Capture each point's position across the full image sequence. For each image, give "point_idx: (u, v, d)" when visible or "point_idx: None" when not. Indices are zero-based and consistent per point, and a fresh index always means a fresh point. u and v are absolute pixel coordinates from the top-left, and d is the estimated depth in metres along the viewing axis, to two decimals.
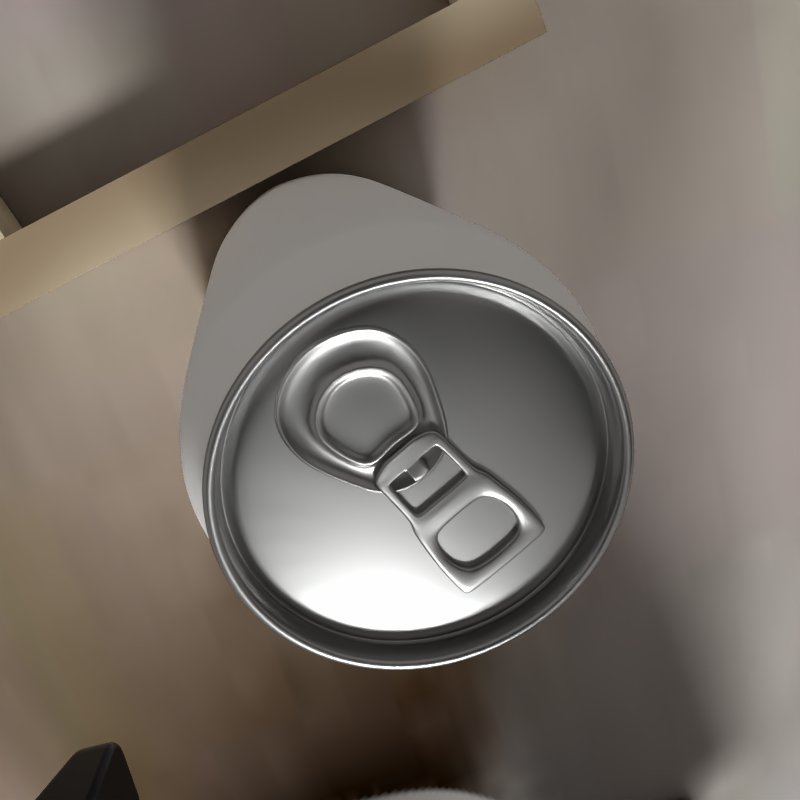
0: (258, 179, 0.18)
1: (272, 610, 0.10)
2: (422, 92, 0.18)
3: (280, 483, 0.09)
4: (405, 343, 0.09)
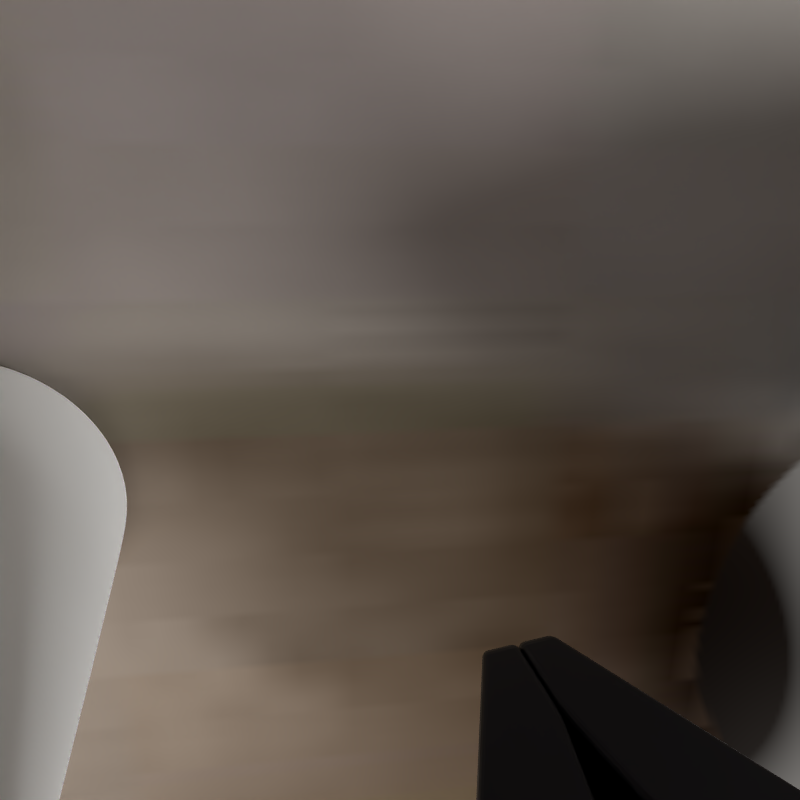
0: None
1: None
2: None
3: None
4: None
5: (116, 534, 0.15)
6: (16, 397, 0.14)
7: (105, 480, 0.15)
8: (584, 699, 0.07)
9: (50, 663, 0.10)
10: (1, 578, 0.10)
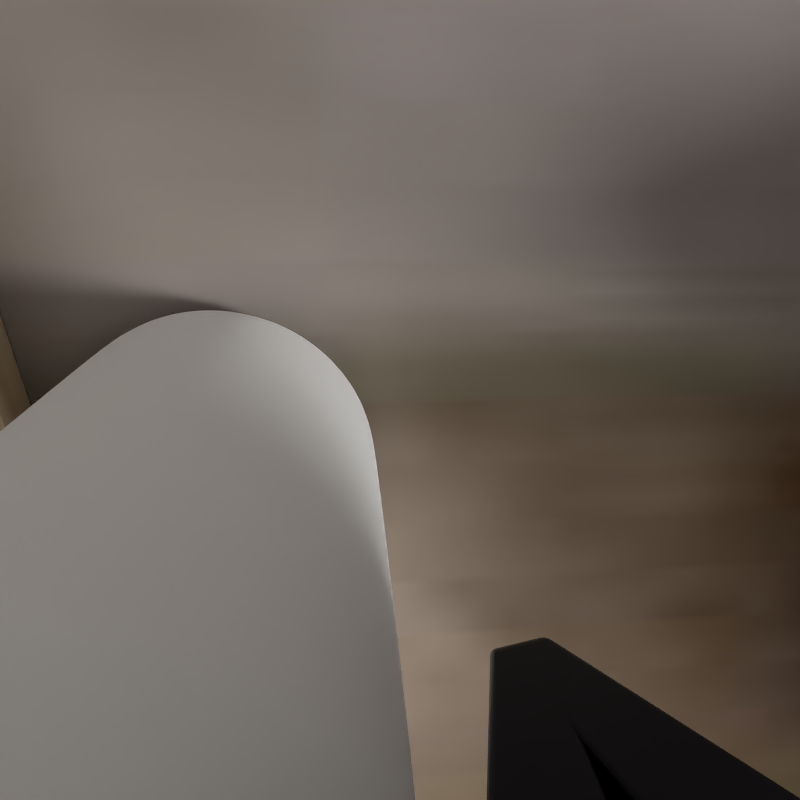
0: None
1: None
2: None
3: None
4: None
5: None
6: (300, 351, 0.14)
7: (371, 445, 0.14)
8: (577, 701, 0.07)
9: (390, 601, 0.09)
10: (349, 506, 0.09)
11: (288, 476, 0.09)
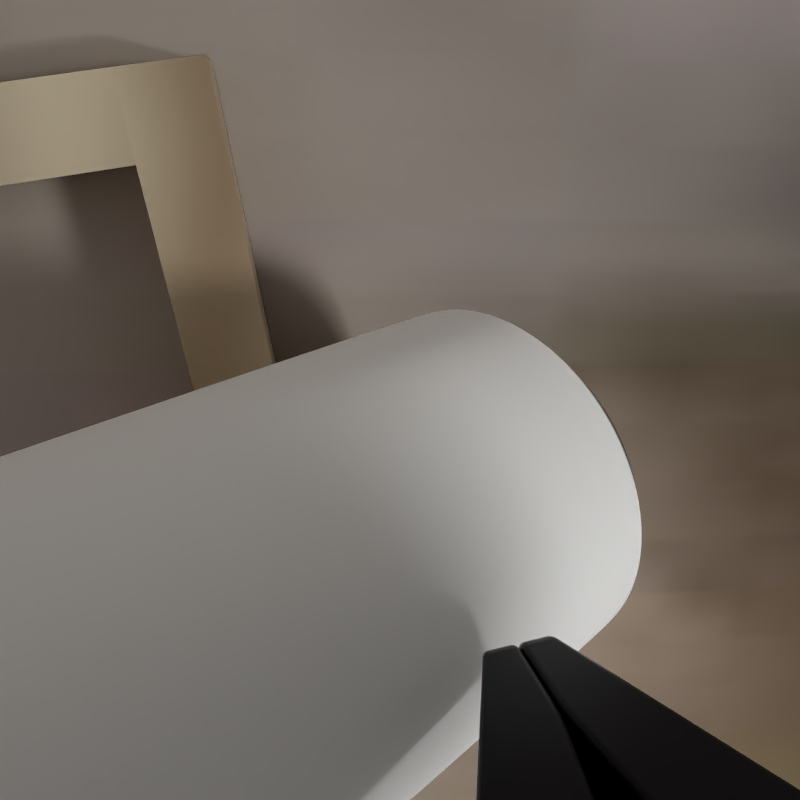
0: None
1: None
2: (244, 258, 0.13)
3: None
4: None
5: (571, 640, 0.11)
6: (547, 420, 0.10)
7: (594, 572, 0.11)
8: (584, 699, 0.07)
9: None
10: (310, 678, 0.08)
11: (209, 619, 0.07)
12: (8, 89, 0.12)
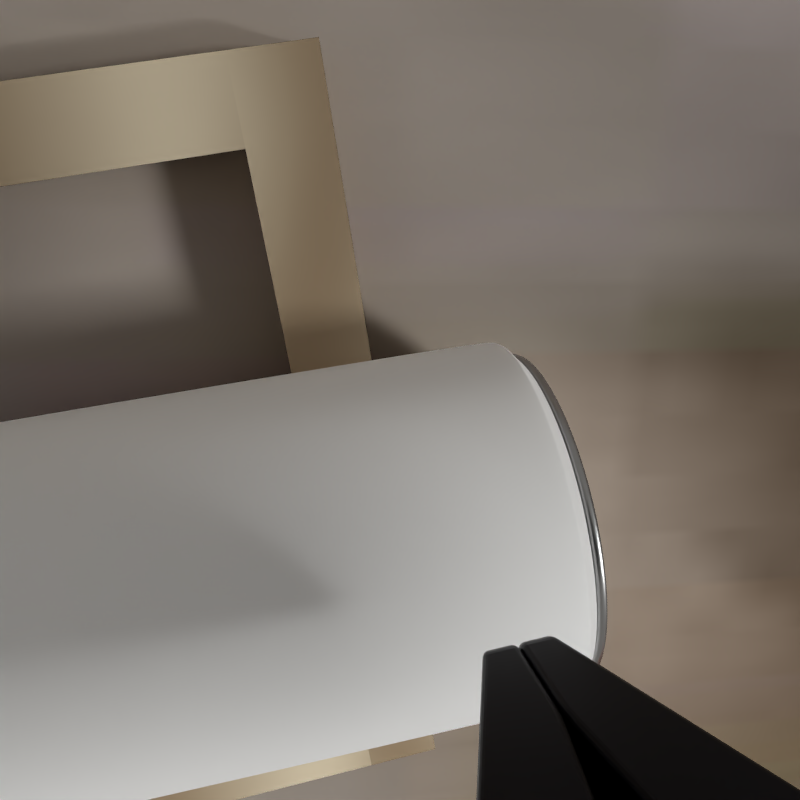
0: None
1: None
2: (347, 243, 0.13)
3: None
4: None
5: (476, 715, 0.11)
6: (496, 531, 0.10)
7: None
8: (584, 699, 0.07)
9: (146, 761, 0.10)
10: (160, 686, 0.10)
11: (92, 623, 0.10)
12: (124, 72, 0.12)
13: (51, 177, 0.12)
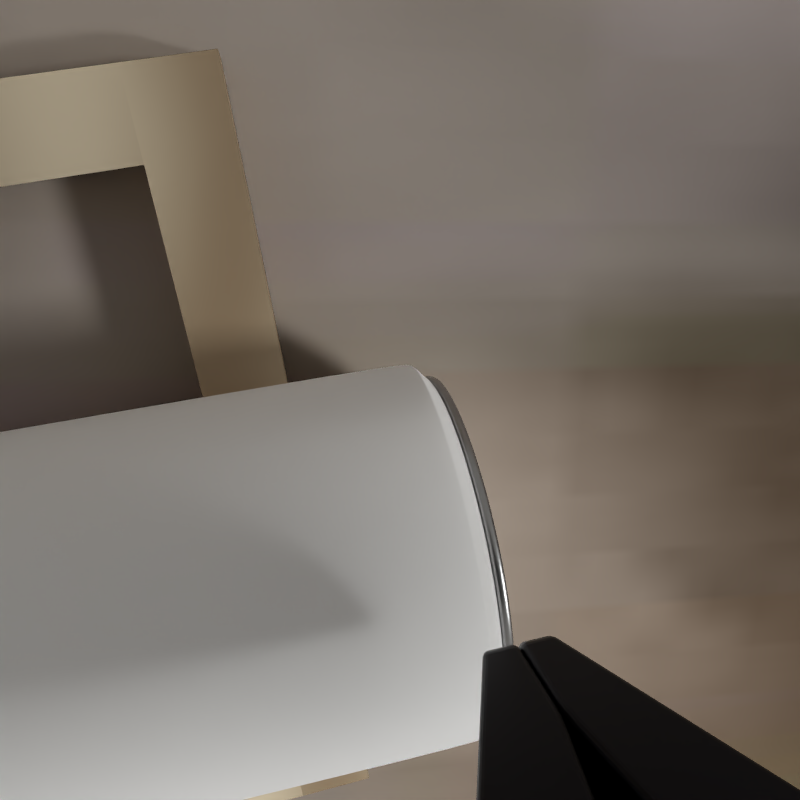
0: None
1: None
2: (256, 262, 0.13)
3: None
4: None
5: (380, 758, 0.11)
6: (391, 569, 0.10)
7: (404, 720, 0.10)
8: (584, 699, 0.07)
9: None
10: (30, 738, 0.09)
11: None
12: (10, 85, 0.11)
13: None
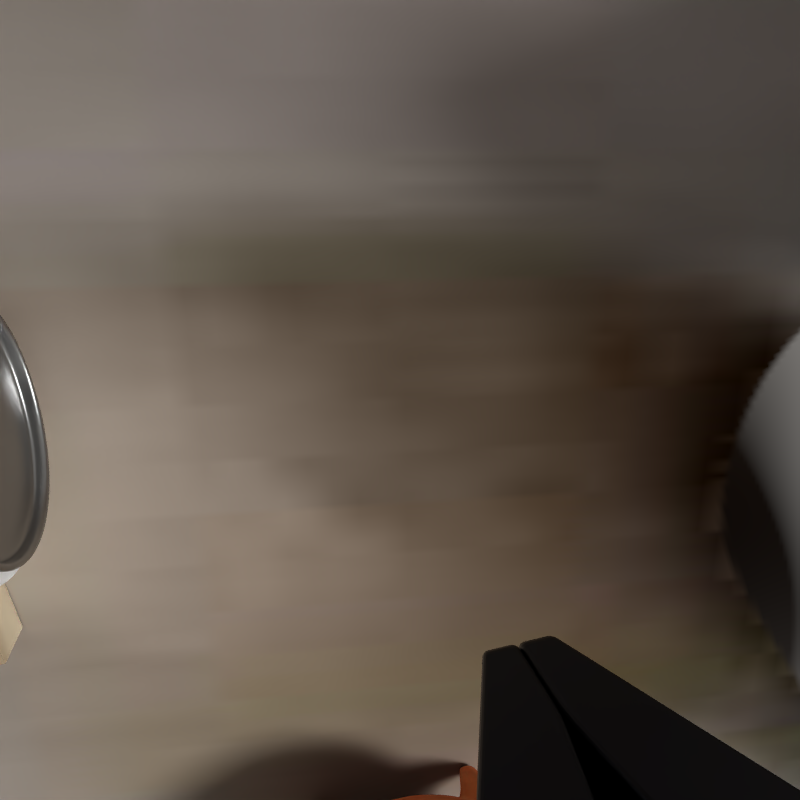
0: None
1: None
2: None
3: None
4: None
5: None
6: None
7: None
8: (584, 699, 0.07)
9: None
10: None
11: None
12: None
13: None
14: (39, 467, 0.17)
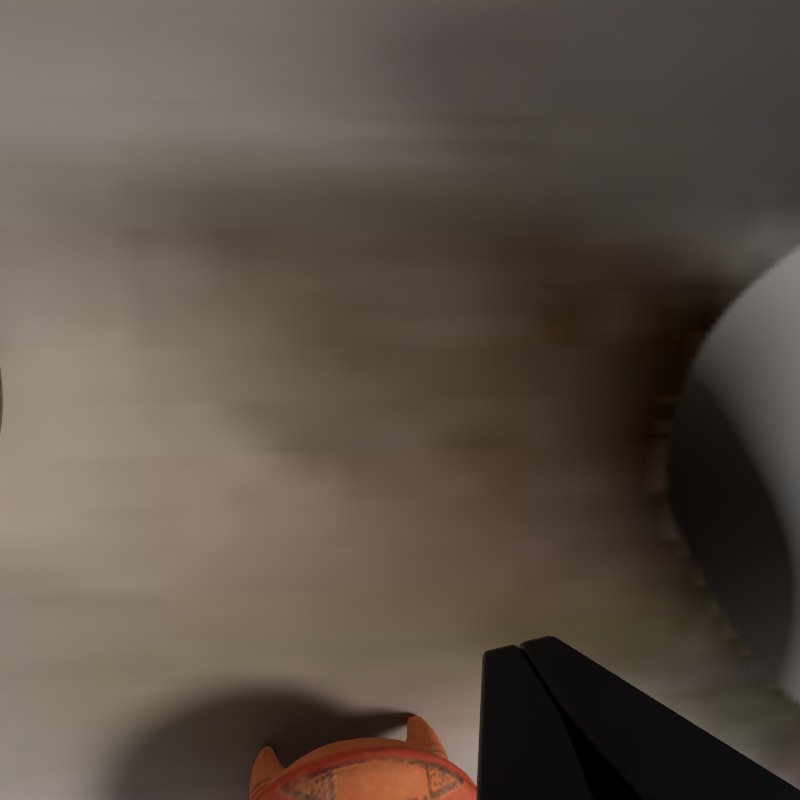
0: None
1: None
2: None
3: None
4: None
5: None
6: None
7: None
8: (584, 699, 0.07)
9: None
10: None
11: None
12: None
13: None
14: None
